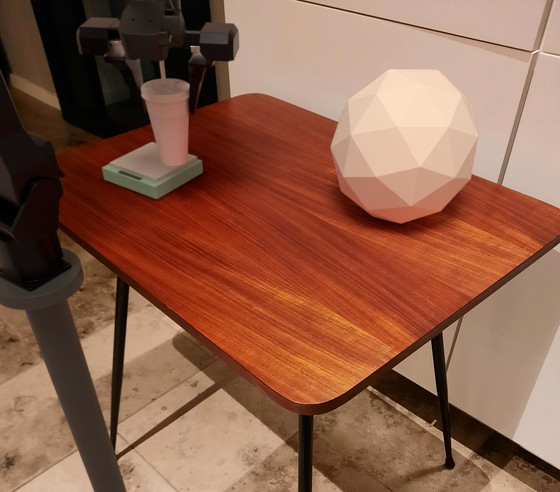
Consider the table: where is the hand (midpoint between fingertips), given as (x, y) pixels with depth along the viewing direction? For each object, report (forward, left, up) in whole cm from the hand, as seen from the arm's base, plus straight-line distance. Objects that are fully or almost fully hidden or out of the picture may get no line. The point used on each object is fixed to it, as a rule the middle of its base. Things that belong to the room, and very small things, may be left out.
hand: (168, 112), depth 74 cm
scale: (+5, +9, -13) cm, 17 cm away
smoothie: (0, 0, -7) cm, 7 cm away
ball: (+17, -27, -13) cm, 34 cm away
